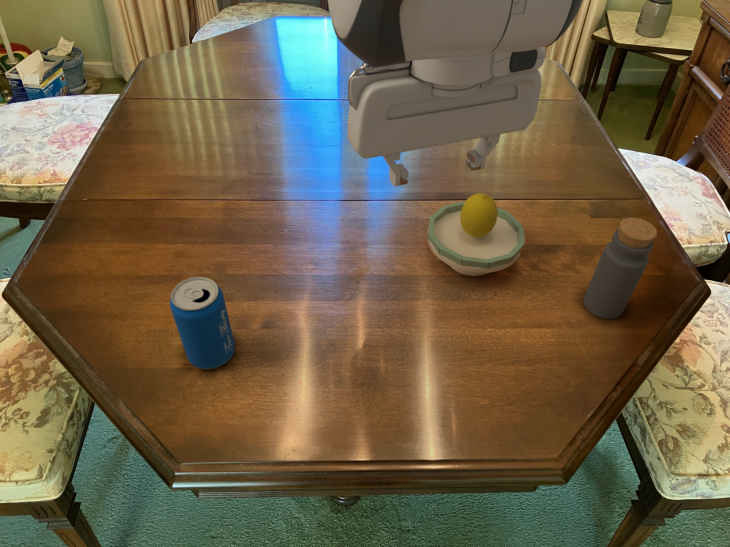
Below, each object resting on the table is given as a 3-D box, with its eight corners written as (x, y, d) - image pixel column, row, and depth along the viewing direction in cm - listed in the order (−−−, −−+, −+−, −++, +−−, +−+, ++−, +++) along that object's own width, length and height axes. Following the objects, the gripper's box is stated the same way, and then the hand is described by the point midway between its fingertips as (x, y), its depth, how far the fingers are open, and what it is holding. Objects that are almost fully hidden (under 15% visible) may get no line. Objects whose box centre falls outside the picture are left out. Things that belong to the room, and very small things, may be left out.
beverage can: (221, 378, 73) (204, 317, 65) (178, 364, 74) (156, 304, 66) (244, 342, 77) (231, 281, 69) (203, 330, 79) (186, 269, 70)
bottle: (597, 285, 86) (630, 209, 76) (630, 307, 83) (670, 230, 73) (575, 302, 84) (606, 225, 73) (609, 325, 80) (646, 248, 70)
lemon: (494, 228, 88) (503, 187, 83) (490, 250, 85) (499, 208, 79) (459, 222, 89) (466, 181, 84) (454, 243, 86) (461, 202, 80)
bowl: (535, 278, 87) (544, 248, 83) (450, 301, 83) (455, 272, 79) (487, 222, 97) (493, 193, 93) (410, 241, 94) (413, 212, 89)
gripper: (359, 77, 47) (359, 209, 56) (561, 48, 52) (530, 173, 62) (336, 50, 51) (339, 177, 61) (525, 26, 57) (501, 146, 66)
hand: (437, 174), depth 61 cm, fingers open, 8 cm apart
